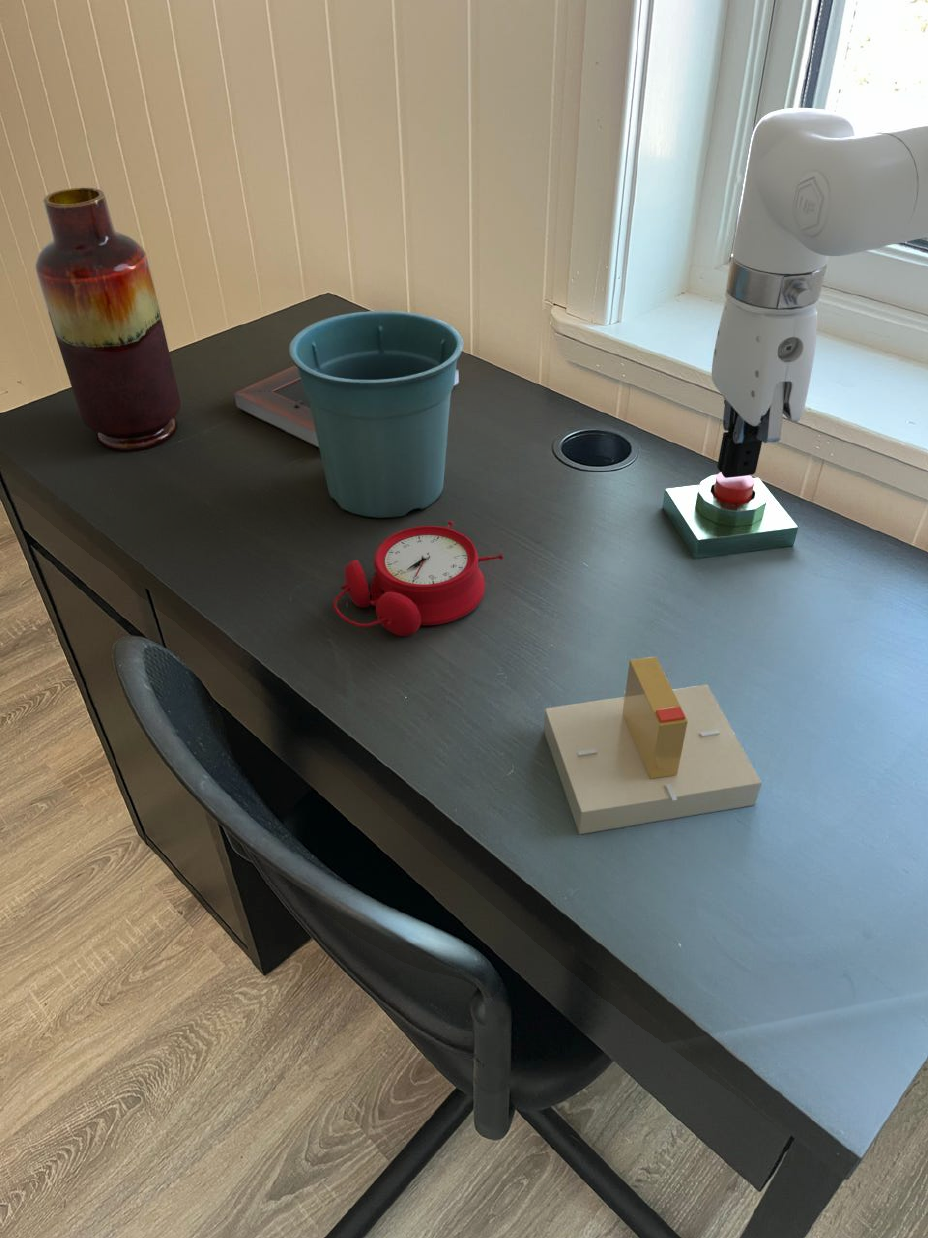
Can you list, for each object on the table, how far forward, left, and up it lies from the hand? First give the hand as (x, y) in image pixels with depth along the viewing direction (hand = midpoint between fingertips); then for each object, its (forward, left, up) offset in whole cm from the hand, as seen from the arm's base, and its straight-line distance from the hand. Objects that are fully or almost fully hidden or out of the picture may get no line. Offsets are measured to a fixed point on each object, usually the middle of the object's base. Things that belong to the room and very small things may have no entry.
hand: (735, 471), depth 90 cm
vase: (+59, -32, -6) cm, 67 cm away
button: (0, 0, -3) cm, 3 cm away
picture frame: (+34, -35, -6) cm, 49 cm away
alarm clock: (+32, +5, -6) cm, 33 cm away
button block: (0, 0, -6) cm, 6 cm away
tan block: (+18, +28, -4) cm, 34 cm away
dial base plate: (+18, +28, -6) cm, 34 cm away
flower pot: (+32, -14, -6) cm, 35 cm away
